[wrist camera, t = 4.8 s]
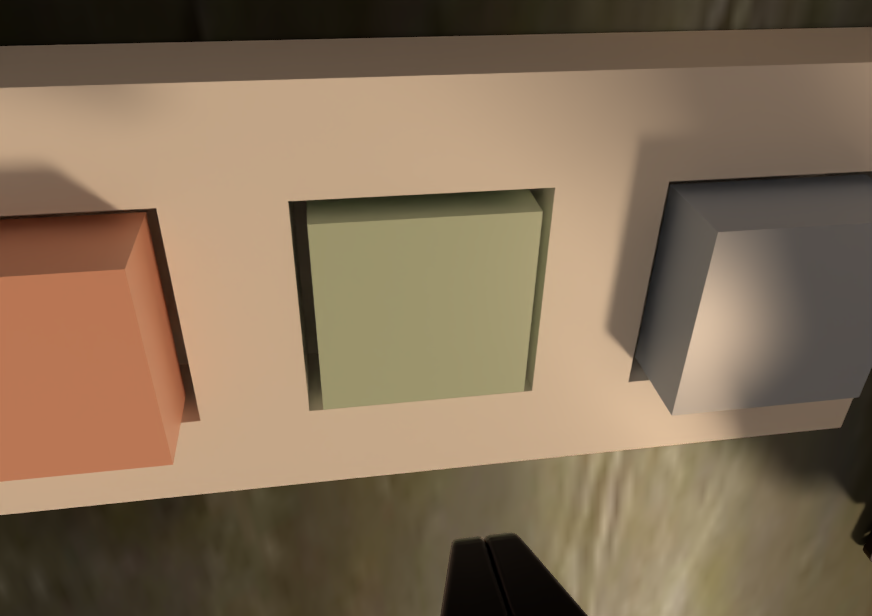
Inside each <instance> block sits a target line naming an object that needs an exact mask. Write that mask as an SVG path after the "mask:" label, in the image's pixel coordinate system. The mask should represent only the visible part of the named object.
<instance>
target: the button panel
mask: <svg viewBox="0 0 872 616" xmlns="http://www.w3.org/2000/svg"><path fill="white" fill-rule="evenodd" d="M864 174H866V175H867V176H869V177H871V178H872V27H848V28H803V29H757V30H712V31H667V32H621V33H576V34H530V35H485V36H439V37H394V38H349V39H303V40H258V41H212V42H167V43H122V44H76V45H31V46H0V220H5V219H24V218H44V217H63V216H82V215H101V214H120V213H139V212H146V215H147V219H148V224H149V228H150V233H151V238H152V242H153V247H154V251H155V256H156V260H157V265H158V270H159V274H160V279H161V283H162V288H163V292H164V297H165V302H166V306H167V311H168V315H169V320H170V325H171V329H172V334H173V338H174V343H175V347H176V352H177V357H178V361H179V366H180V370H181V375H182V380H183V384H184V389H185V393H186V398H185V403H184V409H183V414H182V419H181V425H180V430H179V436H178V441H177V446H176V452H175V457H174V463H173V465H165V466H155V467H145V468H134V469H124V470H114V471H104V472H94V473H84V474H73V475H63V476H53V477H43V478H33V479H23V480H12V481H2V482H0V515H5V514H15V513H24V512H34V511H43V510H53V509H63V508H72V507H82V506H92V505H101V504H111V503H120V502H130V501H140V500H149V499H159V498H168V497H178V496H188V495H197V494H207V493H216V492H226V491H236V490H245V489H255V488H264V487H274V486H284V485H293V484H303V483H312V482H322V481H332V480H341V479H351V478H360V477H370V476H380V475H389V474H399V473H408V472H418V471H428V470H437V469H447V468H456V467H466V466H476V465H485V464H495V463H505V462H514V461H524V460H533V459H543V458H553V457H562V456H572V455H581V454H591V453H601V452H610V451H620V450H629V449H639V448H649V447H658V446H668V445H677V444H687V443H697V442H706V441H716V440H725V439H735V438H745V437H754V436H764V435H773V434H783V433H793V432H802V431H812V430H821V429H831V428H841V426H842V423H843V421H844V419H845V416H846V414H847V412H848V409H849V407H850V404H851V402H852V400H853V398H847V399H837V400H826V401H816V402H806V403H796V404H786V405H775V406H765V407H755V408H745V409H735V410H725V411H714V412H704V413H694V414H684V415H674V416H672V415H671V414H670V412H669V411H668V409H667V407H666V406H665V404H664V403H663V401H662V399H661V398H660V396H659V395H658V393H657V391H656V390H655V388H654V387H653V385H652V383H651V382H650V380H649V379H648V377H647V375H646V374H645V372H644V371H643V369H642V367H641V366H640V364H639V363H638V361H637V359H636V358H635V354H636V349H637V344H638V339H639V334H640V329H641V324H642V319H643V315H644V310H645V305H646V300H647V295H648V290H649V285H650V280H651V276H652V271H653V266H654V261H655V256H656V251H657V246H658V241H659V237H660V232H661V227H662V222H663V217H664V212H665V207H666V202H667V198H668V193H669V188H670V185H673V184H692V183H711V182H730V181H749V180H768V179H788V178H807V177H826V176H845V175H864ZM516 189H529V190H530V192H531V193H532V195H533V196H534V198H535V200H536V201H537V203H538V204H539V206H540V208H541V209H542V211H543V215H542V225H541V234H540V243H539V253H538V262H537V272H536V281H535V291H534V300H533V310H532V319H531V329H530V338H529V348H528V357H527V366H526V376H525V385H524V391H523V392H512V393H501V394H490V395H479V396H468V397H457V398H446V399H435V400H424V401H413V402H402V403H391V404H380V405H369V406H358V407H347V408H336V409H325V410H323V399H322V388H321V377H320V365H319V354H318V342H317V331H316V319H315V308H314V297H313V285H312V274H311V262H310V251H309V240H308V228H307V203H306V200H323V199H343V198H362V197H381V196H400V195H420V194H439V193H458V192H478V191H497V190H516Z"/></svg>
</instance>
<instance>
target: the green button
mask: <svg viewBox="0 0 872 616" xmlns="http://www.w3.org/2000/svg"><path fill="white" fill-rule="evenodd" d="M306 203H307V228H308V240H309V251H310V262H311V274H312V285H313V297H314V308H315V319H316V331H317V342H318V354H319V365H320V377H321V388H322V399H323V410H325V409H336V408H347V407H358V406H369V405H380V404H391V403H402V402H413V401H424V400H435V399H446V398H457V397H468V396H479V395H490V394H501V393H512V392H523V391H524V385H525V376H526V366H527V357H528V348H529V338H530V329H531V319H532V310H533V300H534V291H535V281H536V272H537V262H538V253H539V243H540V234H541V225H542V215H543V211H542V209H541V208H540V206H539V204H538V203H537V201H536V200H535V198H534V196H533V195H532V193H531V192H530V190H529V189H516V190H497V191H478V192H458V193H439V194H420V195H400V196H381V197H362V198H343V199H323V200H306Z"/></svg>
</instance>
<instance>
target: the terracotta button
mask: <svg viewBox="0 0 872 616" xmlns="http://www.w3.org/2000/svg"><path fill="white" fill-rule="evenodd" d="M185 398H186V393H185V389H184V384H183V380H182V375H181V370H180V366H179V361H178V357H177V352H176V347H175V343H174V338H173V334H172V329H171V325H170V320H169V315H168V311H167V306H166V302H165V297H164V292H163V288H162V283H161V279H160V274H159V270H158V265H157V260H156V256H155V251H154V247H153V242H152V238H151V233H150V228H149V224H148V219H147V215H146V212H139V213H120V214H101V215H82V216H63V217H44V218H24V219H5V220H0V482H2V481H12V480H23V479H33V478H43V477H53V476H63V475H73V474H84V473H94V472H104V471H114V470H124V469H134V468H145V467H155V466H165V465H173V463H174V457H175V452H176V446H177V441H178V436H179V430H180V425H181V419H182V414H183V409H184V403H185Z"/></svg>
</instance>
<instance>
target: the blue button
mask: <svg viewBox="0 0 872 616" xmlns="http://www.w3.org/2000/svg"><path fill="white" fill-rule="evenodd" d="M635 358H636V359H637V361H638V363H639V364H640V366H641V367H642V369H643V371H644V372H645V374H646V375H647V377H648V379H649V380H650V382H651V383H652V385H653V387H654V388H655V390H656V391H657V393H658V395H659V396H660V398H661V399H662V401H663V403H664V404H665V406H666V407H667V409H668V411H669V412H670V414H671V415H672V416H674V415H684V414H694V413H704V412H714V411H725V410H735V409H745V408H755V407H765V406H775V405H786V404H796V403H806V402H816V401H826V400H837V399H847V398H857V397H859V396H860V394H861V391H862V389H863V387H864V384H865V382H866V380H867V377H868V375H869V373H870V370H871V368H872V178H871V177H869V176H867V175H866V174H864V175H845V176H826V177H807V178H788V179H768V180H749V181H730V182H711V183H692V184H673V185H670V188H669V193H668V198H667V202H666V207H665V212H664V217H663V222H662V227H661V232H660V237H659V241H658V246H657V251H656V256H655V261H654V266H653V271H652V276H651V280H650V285H649V290H648V295H647V300H646V305H645V310H644V315H643V319H642V324H641V329H640V334H639V339H638V344H637V349H636V354H635Z"/></svg>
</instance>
